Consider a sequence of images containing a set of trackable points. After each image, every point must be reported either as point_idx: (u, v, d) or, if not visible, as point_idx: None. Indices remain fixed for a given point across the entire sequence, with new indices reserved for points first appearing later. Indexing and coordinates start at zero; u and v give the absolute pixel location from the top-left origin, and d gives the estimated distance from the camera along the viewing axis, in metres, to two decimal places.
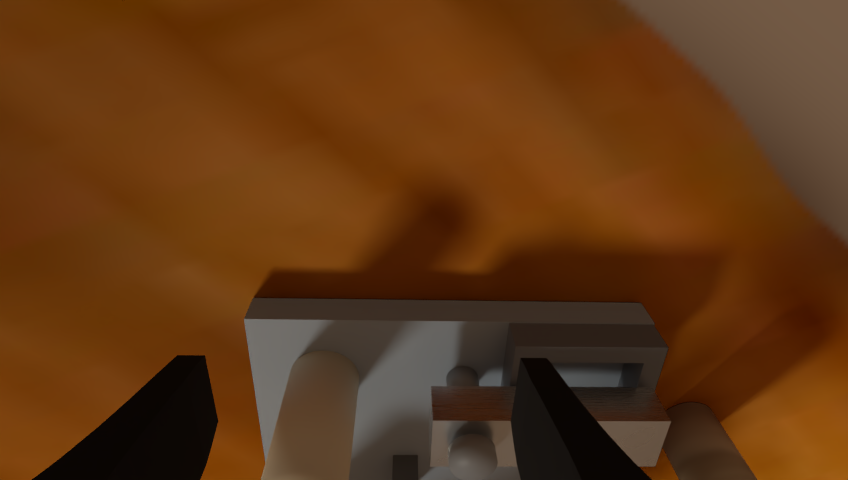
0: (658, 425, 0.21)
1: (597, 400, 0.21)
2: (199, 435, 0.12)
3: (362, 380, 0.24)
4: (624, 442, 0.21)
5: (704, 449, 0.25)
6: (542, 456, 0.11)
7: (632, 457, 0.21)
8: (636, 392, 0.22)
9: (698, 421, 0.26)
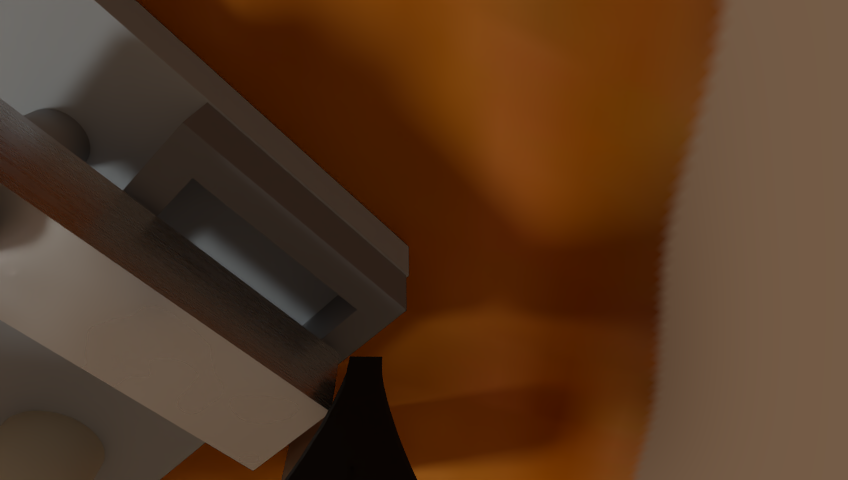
0: (307, 407, 0.11)
1: (246, 310, 0.11)
2: None
3: None
4: (235, 400, 0.11)
5: None
6: None
7: (229, 435, 0.11)
8: (314, 344, 0.12)
9: None
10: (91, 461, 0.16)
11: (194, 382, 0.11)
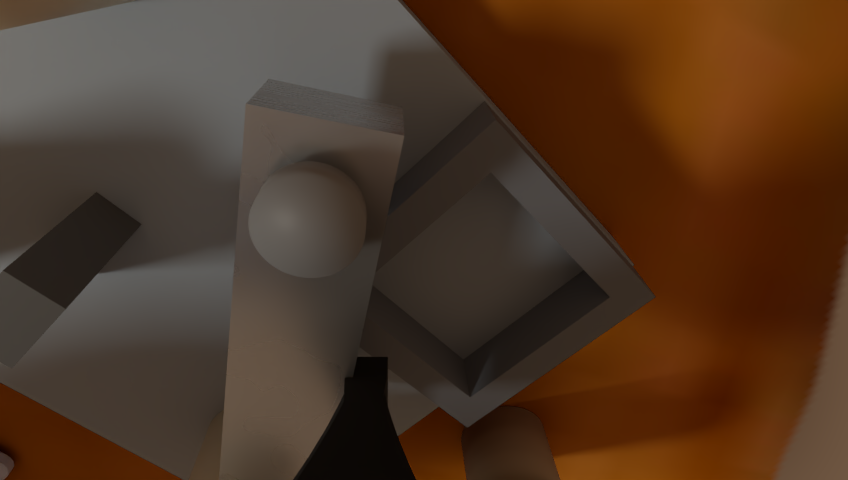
0: None
1: None
2: None
3: None
4: (287, 446, 0.12)
5: (538, 475, 0.16)
6: None
7: (244, 458, 0.12)
8: None
9: (538, 439, 0.18)
10: None
11: (282, 418, 0.12)
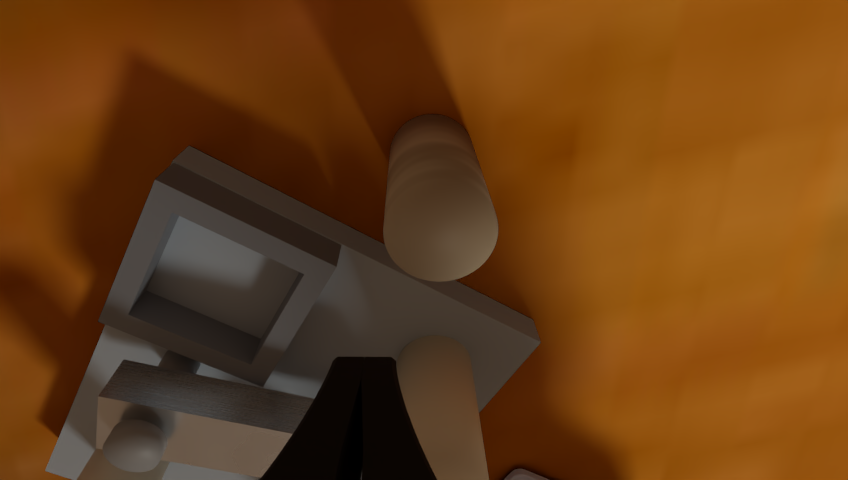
0: None
1: (302, 411, 0.20)
2: (361, 435, 0.12)
3: None
4: None
5: None
6: None
7: None
8: None
9: (391, 152, 0.18)
10: (422, 347, 0.21)
11: None
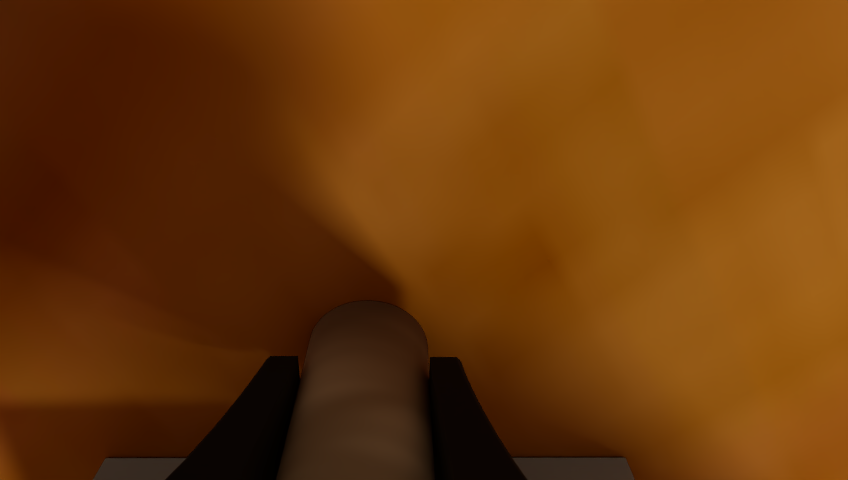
0: None
1: None
2: None
3: None
4: None
5: None
6: (438, 456, 0.11)
7: None
8: None
9: None
10: None
11: None
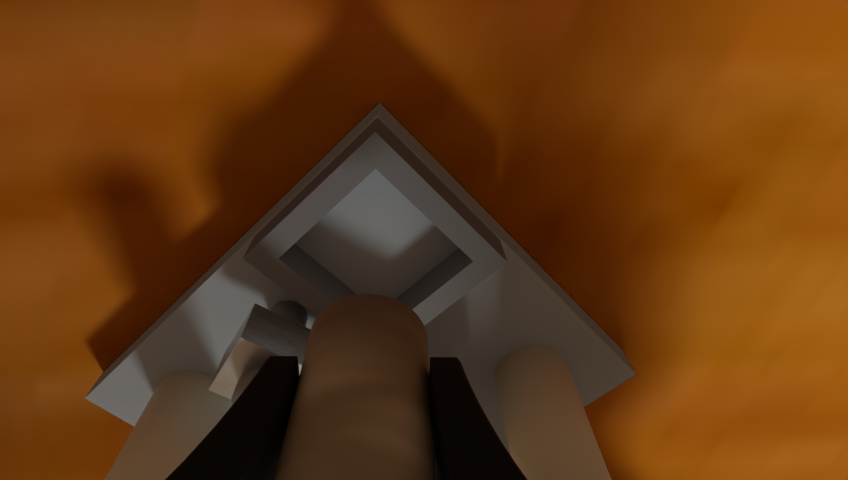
0: None
1: None
2: None
3: None
4: None
5: None
6: (438, 456, 0.11)
7: None
8: None
9: None
10: (536, 355, 0.21)
11: None
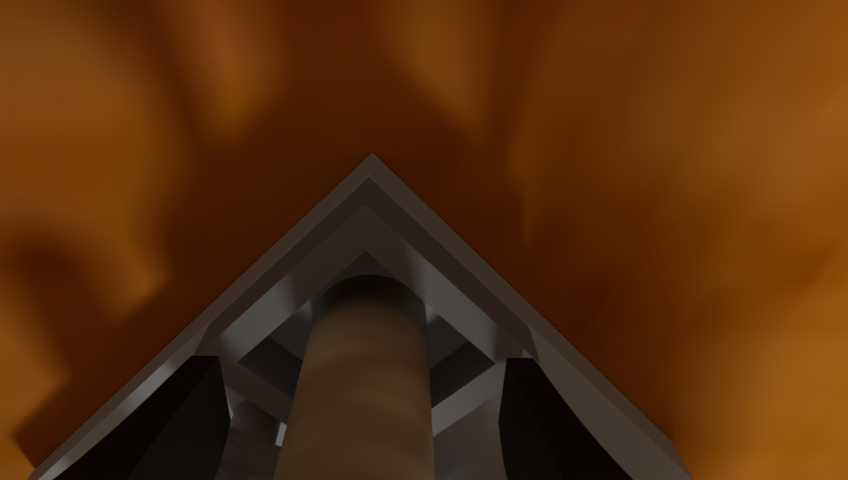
0: None
1: None
2: (213, 435, 0.12)
3: None
4: None
5: None
6: (527, 456, 0.11)
7: None
8: None
9: None
10: None
11: None
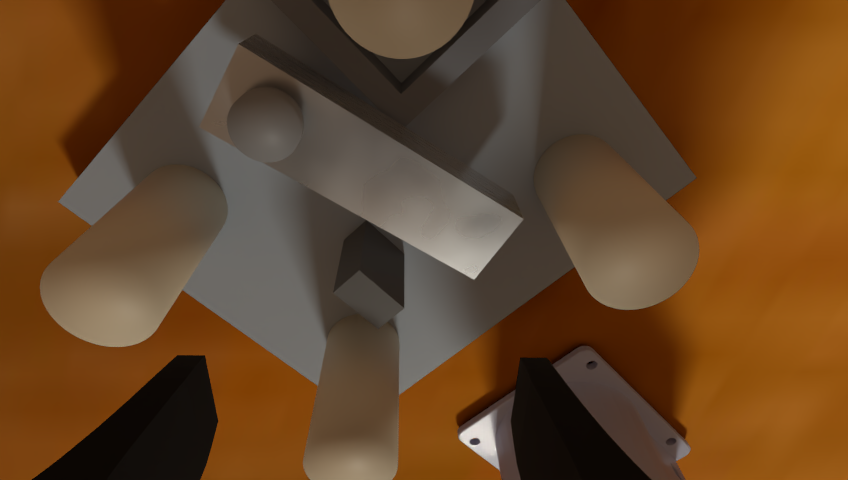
0: (507, 218, 0.16)
1: (451, 163, 0.16)
2: (199, 435, 0.12)
3: (217, 177, 0.19)
4: (458, 221, 0.16)
5: None
6: (542, 456, 0.11)
7: (456, 251, 0.16)
8: (496, 186, 0.17)
9: None
10: (585, 140, 0.18)
11: (431, 212, 0.16)
